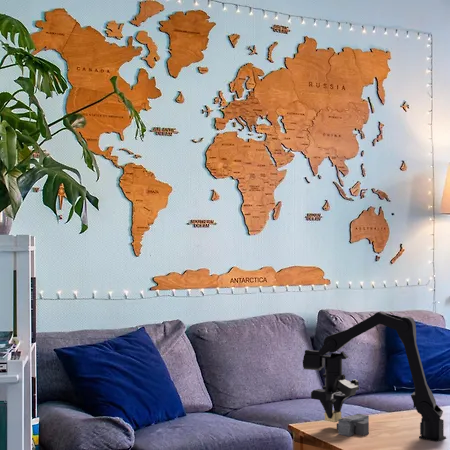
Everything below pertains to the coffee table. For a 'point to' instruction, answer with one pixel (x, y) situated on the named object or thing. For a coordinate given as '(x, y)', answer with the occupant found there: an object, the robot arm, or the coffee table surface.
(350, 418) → the curved dark grey plate
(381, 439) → the coffee table surface
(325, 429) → the coffee table surface
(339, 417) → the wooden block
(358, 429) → the stepped grey block
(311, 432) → the coffee table surface
